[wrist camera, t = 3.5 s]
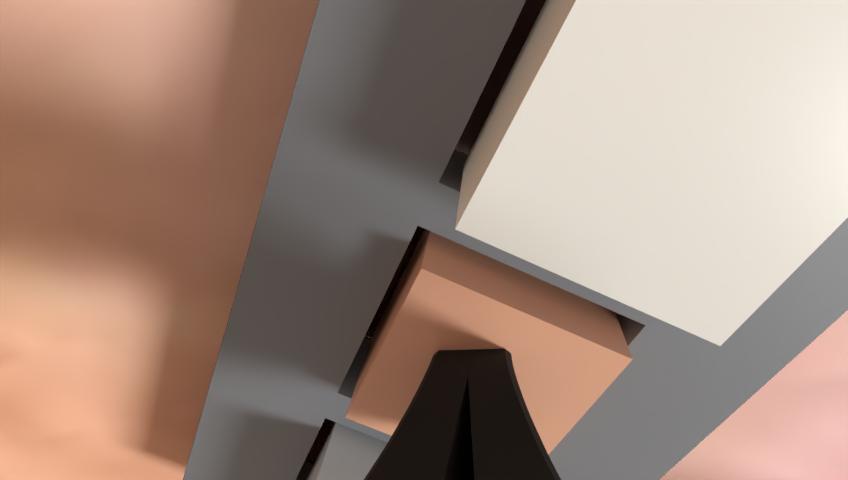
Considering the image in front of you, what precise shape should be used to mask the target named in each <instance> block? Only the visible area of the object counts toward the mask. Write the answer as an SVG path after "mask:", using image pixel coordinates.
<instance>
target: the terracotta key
mask: <svg viewBox="0 0 848 480" xmlns="http://www.w3.org/2000/svg"><path fill="white" fill-rule="evenodd" d="M470 349H506V350H507V351H509V352H510V353H511V356H512V362H513V367H514V371H515V375H516V378H517V381H518V384H519V387H520V390H521V393H522V396H523V398H524V401H525V404H526V406H527V409H528V411H529V413H530V416H531V418H532V421H533V423H534V425H535V427H536V429H537V431H538V434H539V436H540V438H541V440H542V442H543V445H544V447H545V449H546V451H547V453H548V455H549V454H550V453H551V451H552V450H553V449H554V448H555V447H556V446H557V445H558V443H559V442H560V441H561V440H562V439H563V438H564V437H565V436H566V434H567V433H568V432H569V431H570V430H571V429H572V428H573V426H574V425H575V424H576V423H577V422H578V421H579V420H580V419H581V417H582V416H583V415H584V414H585V413H586V412H587V411H588V409H589V408H590V407H591V406H592V405H593V404H594V403H595V402H596V400H597V399H598V398H599V397H600V396H601V395H602V394H603V392H604V391H605V390H606V389H607V388H608V387H609V386H610V385H611V383H612V382H613V381H614V380H615V379H616V378H617V377H618V375H619V374H620V373H621V372H622V371H623V370H624V369H625V368H626V366H627V365H628V364H629V363H630V362H631V361H632V360H633V359H632V356H631V353H630V351H629V348H628V345H627V343H626V340H625V337H624V335H623V332H622V329H621V327H620V324H619V321H618V319H617V316H616V313H615V312H614V311H612V310H609V309H607V308H605V307H602V306H600V305H598V304H596V303H593V302H591V301H589V300H586V299H584V298H582V297H580V296H577V295H575V294H573V293H570V292H568V291H566V290H564V289H561V288H559V287H557V286H555V285H552V284H550V283H548V282H545V281H543V280H541V279H539V278H536V277H534V276H532V275H529V274H527V273H525V272H523V271H520V270H518V269H516V268H513V267H511V266H509V265H507V264H504V263H502V262H500V261H497V260H495V259H493V258H491V257H488V256H486V255H484V254H481V253H479V252H477V251H475V250H472V249H470V248H468V247H465V246H463V245H461V244H459V243H456V242H454V241H452V240H450V239H447V238H445V237H443V236H440V235H438V234H436V233H434V232H431V231H429V230H427V229H425V230H424V232H423V234H422V236H421V238H420V240H419V242H418V244H417V246H416V248H415V250H414V252H413V254H412V256H411V258H410V260H409V262H408V264H407V266H406V268H405V270H404V272H403V274H402V276H401V278H400V280H399V282H398V285H397V287H396V289H395V291H394V293H393V295H392V297H391V299H390V301H389V303H388V305H387V307H386V309H385V311H384V313H383V315H382V317H381V319H380V321H379V323H378V325H377V327H376V329H375V331H374V333H373V335H372V337H371V340H370V343H369V346H368V349H367V352H366V355H365V358H364V361H363V364H362V368H361V371H360V374H359V377H358V380H357V383H356V386H355V389H354V392H353V395H352V398H351V401H350V404H349V407H348V410H347V413H346V417H345V418H347V419H350V420H353V421H355V422H358V423H360V424H363V425H365V426H368V427H370V428H373V429H375V430H378V431H381V432H383V433H386V434H388V435H391V436H392V435H393V433H394V431H395V429H396V428H397V426H398V424H399V422H400V421H401V419H402V417H403V415H404V414H405V412H406V410H407V409H408V407H409V405H410V403H411V401H412V399H413V397H414V395H415V393H416V392H417V390H418V388H419V386H420V384H421V382H422V380H423V378H424V375H425V373H426V371H427V369H428V367H429V365H430V362H431V360H432V357H433V355H434V354H435V353H436V352H437V351H438V350H470Z"/></svg>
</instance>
